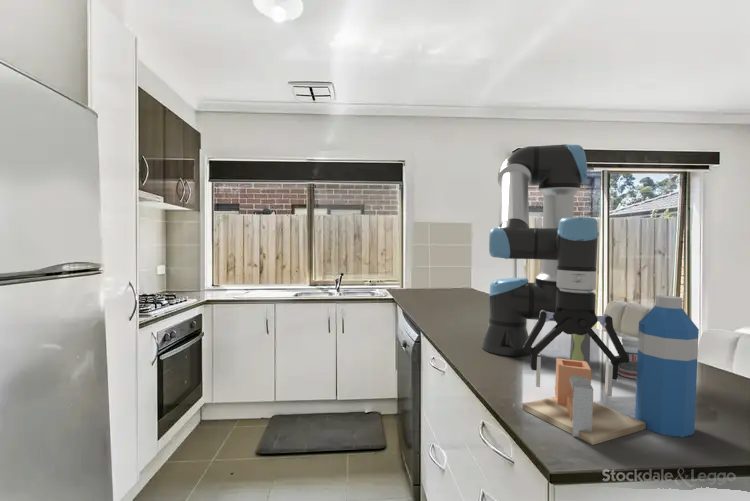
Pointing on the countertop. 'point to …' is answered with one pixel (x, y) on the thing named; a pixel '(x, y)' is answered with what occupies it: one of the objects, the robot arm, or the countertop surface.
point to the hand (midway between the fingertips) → (572, 389)
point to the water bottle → (667, 369)
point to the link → (568, 380)
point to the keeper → (581, 405)
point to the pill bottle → (632, 352)
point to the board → (603, 420)
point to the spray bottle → (580, 348)
